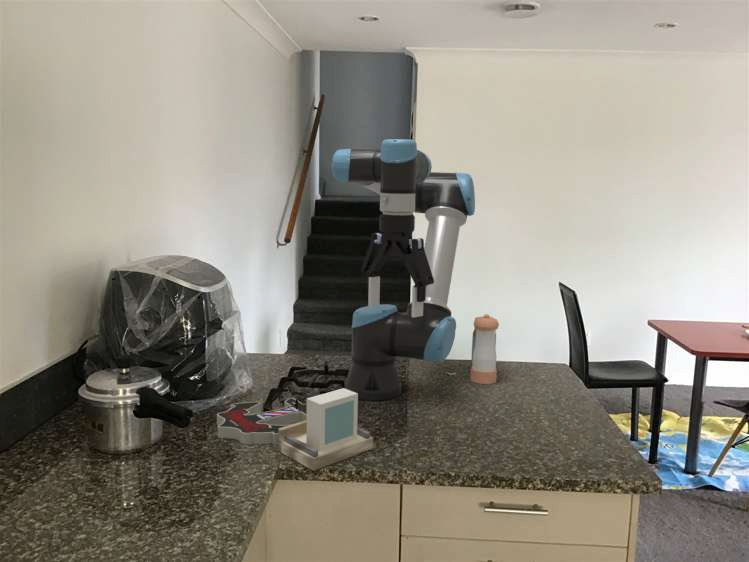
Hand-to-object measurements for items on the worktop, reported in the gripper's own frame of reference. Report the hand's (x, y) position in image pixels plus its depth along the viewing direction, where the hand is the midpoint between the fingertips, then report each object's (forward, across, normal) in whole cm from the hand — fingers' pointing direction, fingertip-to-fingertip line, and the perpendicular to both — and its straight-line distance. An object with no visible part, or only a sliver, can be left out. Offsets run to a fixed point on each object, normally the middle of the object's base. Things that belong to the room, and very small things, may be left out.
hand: (394, 310), depth 145 cm
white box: (+26, -1, -17) cm, 31 cm away
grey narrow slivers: (+29, -19, +57) cm, 67 cm away
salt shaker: (+29, -11, +47) cm, 56 cm away
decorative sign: (+29, -22, -16) cm, 40 cm away
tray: (+28, -2, -17) cm, 33 cm away
